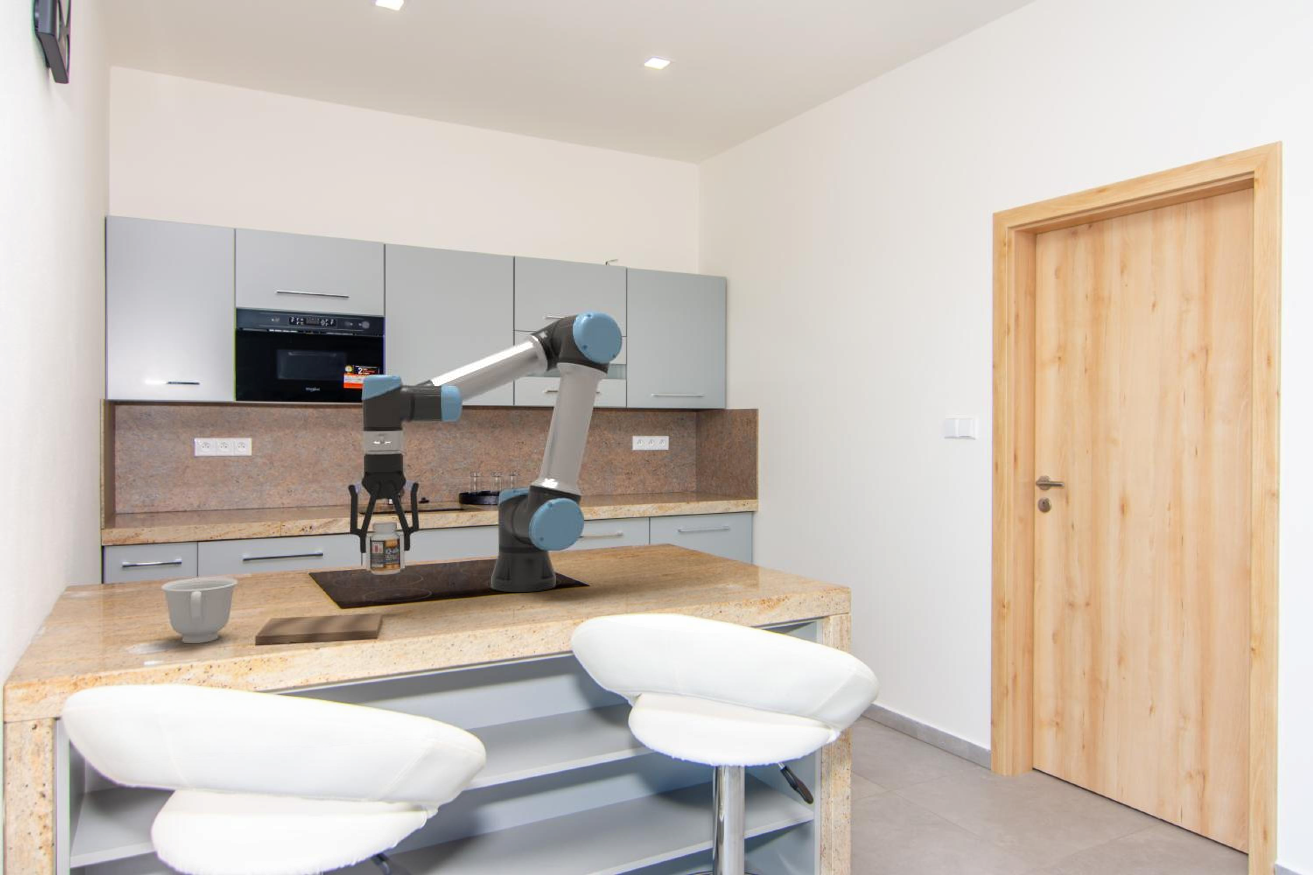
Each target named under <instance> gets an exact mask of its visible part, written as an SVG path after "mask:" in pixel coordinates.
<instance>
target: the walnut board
mask: <svg viewBox="0 0 1313 875" xmlns="http://www.w3.org/2000/svg"><path fill="white" fill-rule="evenodd" d="M381 622H383V613H382V612H379V613H359V614H354V613H353V614H337V615H318V616H316V615H315V616H313V615H312V616H298V617H297V616H296V617H295V616H293V617H276V618H275V617H274V618H273V617H272V618H270V619H269V620H268V621H267V622H266V623H265V625H264V626H263V627H262V628H261V629H260V630H259V632H258V633H257V634H256V635H254V636H255V641H254V642H255V646H261V645H260V644H267V645H271V644H270V643H285V644H289V643H288V642H304V643H317V642H318V643H319V642H337V641H340V642H341V641H354V640H355V641H356V640H357V641H359V640H374V639H378V635H379V632H380V628H381V626H382V623H381ZM286 642H287V643H286Z"/></svg>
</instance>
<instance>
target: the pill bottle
mask: <svg viewBox="0 0 1313 875" xmlns="http://www.w3.org/2000/svg"><path fill="white" fill-rule="evenodd" d="M397 529H398V522H395V521H383V522H382V521H381V522H374V523H372V531H373V533H372V534H371V535H370V536H371V538H370V553H371V570H370V572H371V574H373V575H379V576H380V575H385V576H386V575H393V574H398V573H400V571H401V568H400V534H399V533H398V532H397Z"/></svg>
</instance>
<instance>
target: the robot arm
mask: <svg viewBox="0 0 1313 875" xmlns="http://www.w3.org/2000/svg"><path fill="white" fill-rule="evenodd" d="M622 334H623V333H622V330H621V328H620V327H619V325H618V323H617V322H616V320H615V319H614V318H613V317H612V316H610V315H609V314H607V313H606V312H601V311H596V310H595V311H591V310H590V311H584V312H583V311H582V312H581V313H580V314H575V315H569V316H565V317H562V318H559V319H558V320H556V321H553V322H552V323H550V324H548V325H547V326H544V327H542V328H540V329H538V330H537V331H534V332H532V333H529V334H527V335H525V337H524V339H523V341H521V342H519V343H516V344H514V345H511V346H508V347H507V348H504V349H501V350H498V351H496V352H494V353H492V354H489V355H486V356H484V357H481V358H479V359H477V360H475V361H471V362H469V363H467V364H463V365H462V366H459V367H457V368H454V369H452V370H449V371H447V372H444V373H442V374H439V375H437V376H434V377H432V378H430V379H428V380H425V381H422V382H419V383H417V384H415V385H410V384H409V385H407V384H403V381H402V380H403V379H402V377H401V376H400V375H397V374H370V375H366V376H365V377H364V378H363V379H362V394H361V400H362V403H361V404H362V425H363V427H362V428H363V429H362V430H363V431H362V436H363V437H362V442H363V446H362V447H363V451H364V452H366V453H365V454H364V455H363V478H362V479H361V481H359V482H355V483H350V484H349V485H348V486H347V489H348V492H349V495H350V511H349V512H350V514H349V515H350V517H349V519H350V520H349V533H350V535H354V536H356V537H358V538H359V545H360V546H359V551H360V553H361V554H365V561H366V562H365V564H366V565H365V566H366V571H371V553H370V538H371V536H372V535H367V534H368V531H369V528H370V525H371V521H372V517H373V513H374V510H375V506H376V503H377V500H378V501H379V500H391V501H392V504H393V507H394V508H395V512H396V515H397V519H398V521H399V524H400V526H401V530H402V532H403V534H402V533H401V534H399V536H400V568H401V569H405V568H406V557H405V555H406V552H409V551H411V550H410V549H411V535H412V534H413V533H415V532H419V531H420V520H419V517H420V516H419V508H418V489H419V486H420V483H419V482H418V481H411V480H409V479H407V478H406V476H405V475H404V474H405V473H404V454H403V453H401V451H402V450H404V436H403V434H404V432H403V423H410V424H411V423H446V422H447V423H449V422H455V421H458V420H459V419H460V417H461V415H462V411H463V403H464V402H467V401H469V400H471V399H473V398H476V397H478V396H481V395H484V394H486V393H489V392H490V391H493V390H496V389H498V388H500V387H502V386H505V385H507V384H509V383H513V382H515V381H516V380H519V379H521V378H524V377H527V376H528V375H530V374H533V373H539V374H545V373H546V372H549V371H553V370H555V369H558V371H559V372H560V374H561V375H560V380H559V384H558V388H557V389H558V390H557V392H556V398H555V402H554V407H553V412H552V415H551V420H550V426H549V430H548V434H547V439H546V443H545V449H544V453H543V459H542V462H541V466H540V472H539V476H538V478H537V479H536V480H534V481H532V482H531V483H530V485H529V487H526V488H525V487H524V488H513V489H505V490H502V491H501V492H499V495H498V503H497V508H498V510H497V511H498V512H497V513H498V514H497V516H498V519H497V521H498V526H497V527H498V555H497V559H496V561H495V565H494V567H493V571H492V574H491V577H490V588H491V589H492V590H495V591H499V592H500V591H501V592H509V593H531V592H538V591H539V592H541V591H546V590H550V589H553V588H556V584H557V580H556V579H557V577H556V573H555V572H556V571H555V569H554V567H553V564H552V563H553V562H552V559H551V558H550V553H549V552H560V551H563V550H566V549H568V548H570V547H571V546H573V545H574V544H576V542H577V541H579V538H580V537H581V535H582V533H583V530H584V527H585V516H584V512H583V511H582V508H581V507H580V504H581V500H582V495H583V494H582V492H581V491H580V489H579V487H578V481H579V475H580V472H581V467H582V463H583V457H584V453H585V448H586V443H587V438H588V434H589V428H590V424H591V420H592V415H593V411H594V406H595V401H596V396H597V391H598V386H599V383H600V382H601V381H603V380H604V379H606V378H607V377H608V373H609V367H610V363H611V362H612V361H614V360H615V359H616V358H618V356H619V355H620V353H621V350H622V348H623V335H622ZM405 486H406V490H407V491H408V492H409V493H410V496H409V498H410V511H411V523H412V525H411V526H409V523H408V520H407V517H406V515H405V511H404V508H403V505H402V502H401V499H400V496H399V494H400V492H401V491H402V490H403V488H404V487H405ZM362 488H364V490H366V492H367V493H368V494H369V500H368V503H367V507H366V510H365V514H364V516H363V517H364V518H363V521H362V524H361V527H360V528H359V527H358V522H359V521H358V520H359V494H360V493H361V491H362Z"/></svg>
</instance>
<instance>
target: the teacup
mask: <svg viewBox="0 0 1313 875" xmlns="http://www.w3.org/2000/svg"><path fill="white" fill-rule="evenodd" d="M238 583H239V581H238V580H237V579H235V578H232V577H224V576H223V577H220V576H219V577H217V576H216V577H214V576H213V577H212V576H210V577H194V578H187V579H180V580H179V579H178V580H173V581H170V582H166V583H164V584H162V585H161V586H160V588H161V590H162V591H163V592H164V594H165V597H166V603H167V612H168V617H169V618H168V619H169V621H170V625H171V628H172V630H174V631H175V632H176V633H178V634H179V635H182V637H181V638H182V639H181V642H182V643H184V644H203V643H209V642H213V641H216V640H217V639H219V633H218V632H219V631H221V630H222V629H224V627H226V625H227V624H228V622H229V619H230V614H231V609H232V608H231V607H232V603H233V602H232V601H233V600H232V599H233V594H234V590H235V587H236V585H238Z"/></svg>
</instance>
